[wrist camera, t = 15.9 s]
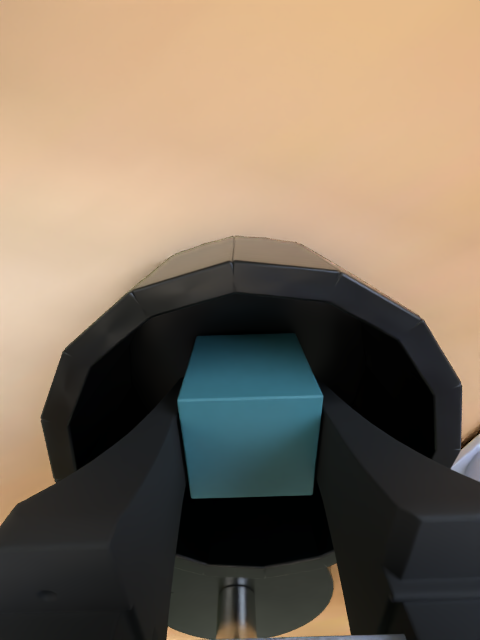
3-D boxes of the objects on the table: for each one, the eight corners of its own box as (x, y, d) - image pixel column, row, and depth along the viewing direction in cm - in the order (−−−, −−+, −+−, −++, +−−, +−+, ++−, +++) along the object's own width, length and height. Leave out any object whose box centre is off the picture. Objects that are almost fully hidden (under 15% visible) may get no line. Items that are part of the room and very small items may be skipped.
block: (295, 332, 12) (324, 396, 8) (291, 411, 14) (313, 496, 10) (196, 335, 12) (176, 400, 8) (203, 413, 14) (190, 499, 10)
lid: (366, 547, 19) (402, 644, 15) (275, 634, 24) (283, 726, 20) (182, 493, 17) (164, 588, 13) (121, 601, 22) (93, 697, 18)
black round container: (434, 321, 13) (560, 397, 8) (287, 488, 17) (308, 607, 12) (181, 174, 10) (130, 148, 5) (83, 412, 15) (4, 520, 10)
